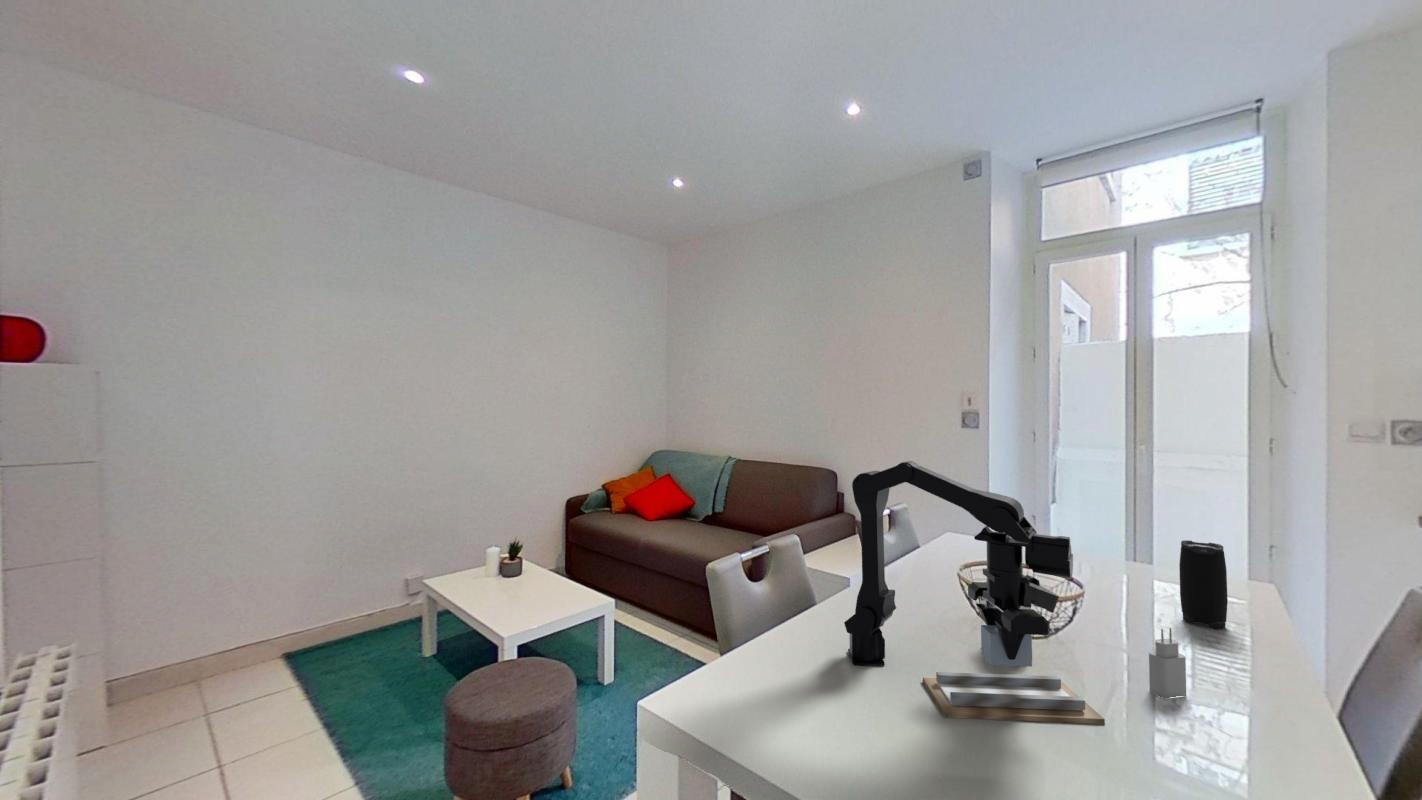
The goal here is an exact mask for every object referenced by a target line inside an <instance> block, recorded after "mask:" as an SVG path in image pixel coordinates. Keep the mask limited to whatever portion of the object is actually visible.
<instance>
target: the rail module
mask: <svg viewBox="0 0 1422 800" xmlns="http://www.w3.org/2000/svg"><path fill="white" fill-rule="evenodd" d="M1032 642H1033V640H1032V635H1029V634H1025V636H1024V638H1023V640H1022V642H1021V645H1020V648H1019V650H1018V653H1017V656H1016V658H1015V660H1009V659H1008V657H1007V655H1006V652H1005V649H1004V646H1003V644H1002V641H1001V638H1000V635H999V632H998V629H997V626H996V625H986V624H980V643H981V644H980V651H981V653H980V654H981V657H983V658H984V659H985V660H986V662H987V663H988V664H989V665H991V666H1003V667H1004V666H1007V667H1009V666H1010V667H1033V646H1032V645H1033V643H1032Z"/></svg>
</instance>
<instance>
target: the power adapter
mask: <svg viewBox="0 0 1422 800" xmlns="http://www.w3.org/2000/svg"><path fill="white" fill-rule="evenodd" d="M1168 629H1169V634H1168V635H1169V638H1164V637H1165V636H1164V629H1163V628H1161V629H1160V630H1161V634H1160V636H1161V638H1160V639H1159V638H1158V639H1155V640H1154V641H1155V642H1154V645H1155V646H1154V649H1155V650H1154V651H1148V671H1149V672H1148V674H1149V675H1148V677H1149V679H1148V681H1149V682H1148V683H1149V692H1150V691H1151V692H1152V694H1153V693H1154V694H1153V695H1155V694H1156V695H1155V696H1157V695H1158V696H1157V697H1159V696H1160V697H1159V698H1161V697H1163V698H1162V699H1164V698H1170V697H1176V696H1186V697H1187V668H1186V666H1187V664H1186V663H1187V662H1186V656H1185V655H1184V654H1181V653H1179V642H1178V640H1177V639H1173V637H1172V627H1169V628H1168ZM1151 692H1150V693H1151Z"/></svg>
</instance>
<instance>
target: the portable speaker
mask: <svg viewBox="0 0 1422 800" xmlns="http://www.w3.org/2000/svg"><path fill="white" fill-rule="evenodd" d="M1178 567H1179V596H1180V597H1179V598H1180V606H1181V612H1182V620H1183V621H1184V622H1185V623H1188V624H1189V625H1193V624H1195V623H1198V624H1201V625H1206V626H1209V628H1210V629H1212V630H1223V629H1225V628H1226V623H1227V614H1228V599H1229V598H1228V579H1227V578H1228V577H1227V576H1228V575H1227V573H1228V571H1227V563H1226V557H1225V551H1224V546H1223V545H1221V544H1219V543H1215V542H1208V543H1207V542H1206V543H1205V542H1198V541H1197V542H1196V541H1192V540H1189V539H1188V540H1181V541H1180V554H1179V566H1178Z"/></svg>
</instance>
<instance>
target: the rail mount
mask: <svg viewBox="0 0 1422 800" xmlns="http://www.w3.org/2000/svg"><path fill="white" fill-rule="evenodd" d="M935 674H936V675H935V677H922V683H923V684H924V687H925V688H926V690H927V691H928V692H929V694H930V696H931V698H932V699H933V700H934V702H935V704H936V705H937V706H938V708H939V710H940V712H941V713H942V715H943V717H944V718H953V719H981V720H983V719H984V720H1002V721H1003V720H1004V721H1005V720H1006V721H1027V722H1028V721H1031V722H1047V723H1048V722H1052V723H1055V722H1056V723H1073V724H1074V723H1076V724H1077V723H1080V724H1099V725H1102V724H1103V725H1105V722H1106V721H1105V718H1104V717H1103V716H1102V715H1101V714H1100V713H1099V712H1097V711H1096V710H1095V709H1094V708H1093V707H1092V706H1091V705H1089V704H1088V703H1087V702H1086V700H1085V699H1084V698H1083V697H1082V696H1079V695H1078V694H1077V693H1076V692H1074V691H1073V690H1072V689H1071V688H1070V687H1069V686H1068V685H1066V683H1064V682H1062V679H1061V678H1060V677H1059V676H1057V675H1035V674H1034V675H1029V674H1028V675H1027V674H1003V673H1002V674H1000V673H978V672H977V673H975V672H971V673H970V672H947V671H946V672H943V671H941V672H939V671H937V672H936V673H935Z"/></svg>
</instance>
